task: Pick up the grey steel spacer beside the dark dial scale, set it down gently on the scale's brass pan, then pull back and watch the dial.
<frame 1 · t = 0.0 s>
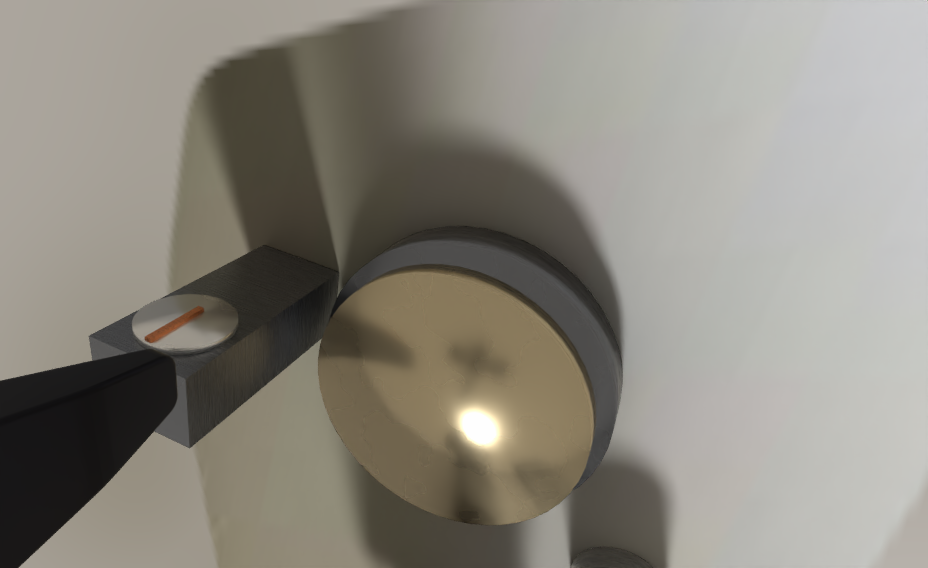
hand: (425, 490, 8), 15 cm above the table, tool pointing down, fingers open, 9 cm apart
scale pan: (448, 402, 23), point 3 cm above the table, slide at -0.3 cm
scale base: (475, 363, 26), on the table
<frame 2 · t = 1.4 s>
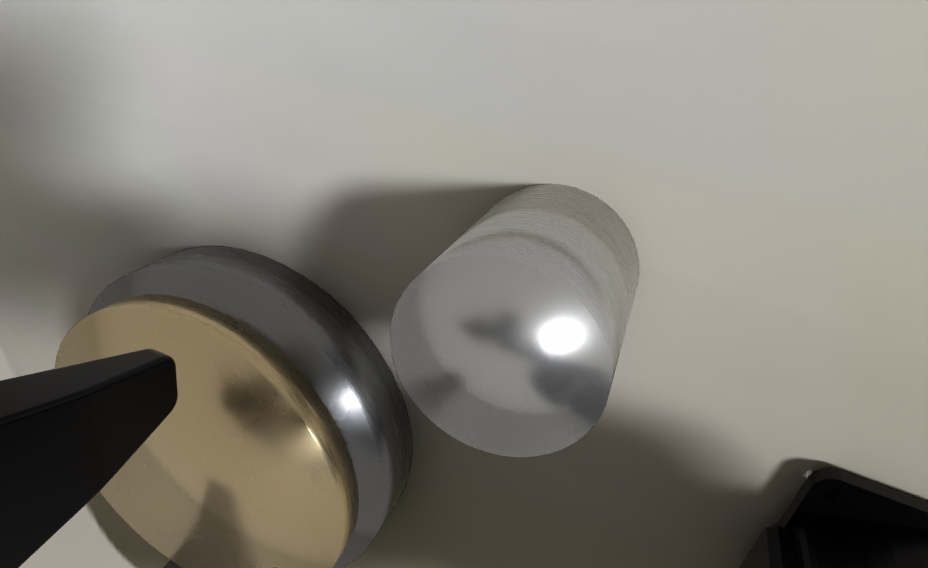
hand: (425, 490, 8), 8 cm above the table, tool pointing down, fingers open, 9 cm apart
steel spacer: (552, 265, 15), on the table
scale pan: (200, 456, 19), point 3 cm above the table, slide at -0.3 cm
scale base: (260, 403, 22), on the table
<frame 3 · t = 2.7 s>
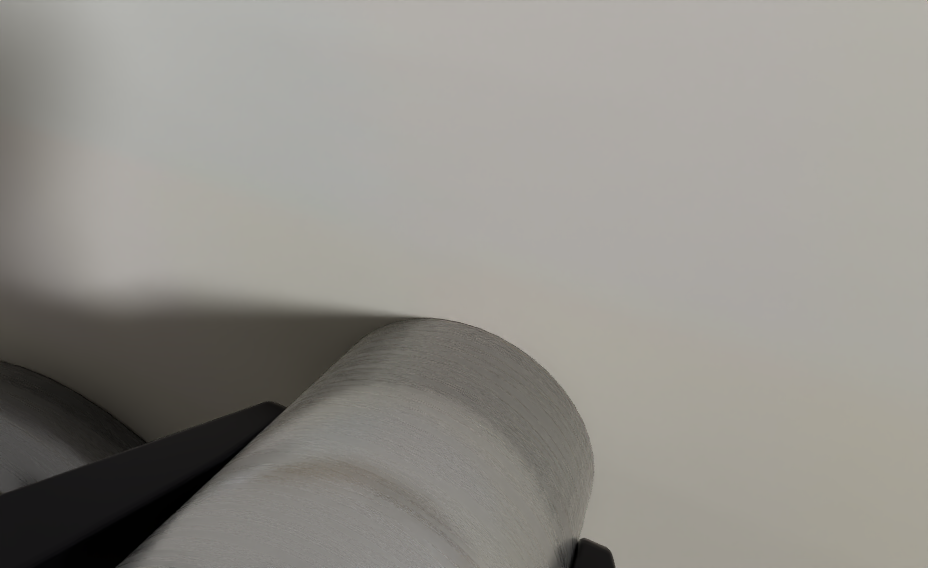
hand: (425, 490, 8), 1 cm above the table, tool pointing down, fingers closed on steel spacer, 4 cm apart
steel spacer: (453, 444, 9), on the table, touching gripper
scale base: (87, 562, 16), on the table
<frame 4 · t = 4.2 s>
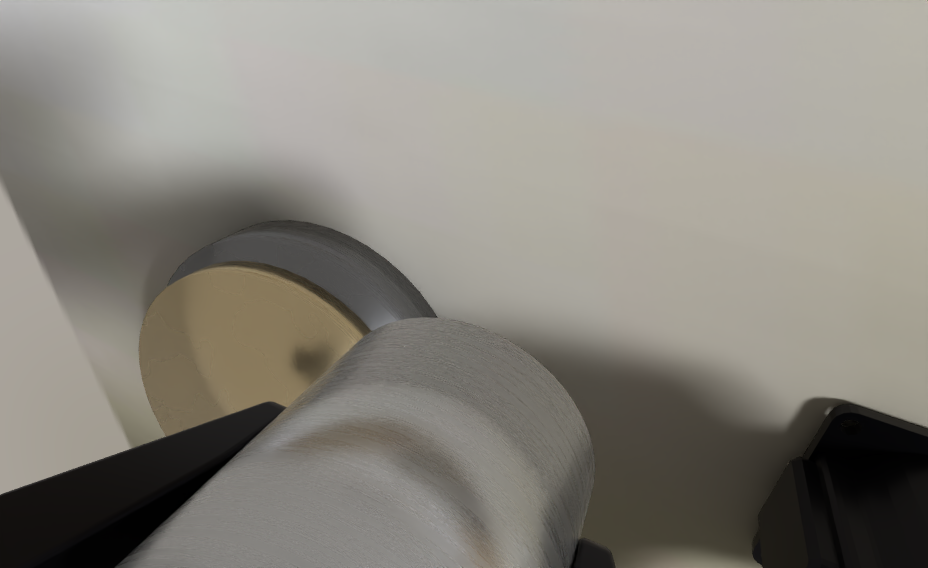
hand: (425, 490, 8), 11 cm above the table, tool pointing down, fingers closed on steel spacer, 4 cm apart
steel spacer: (453, 443, 9), point 10 cm above the table, touching gripper
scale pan: (272, 410, 21), point 3 cm above the table, slide at -0.3 cm
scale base: (319, 367, 24), on the table
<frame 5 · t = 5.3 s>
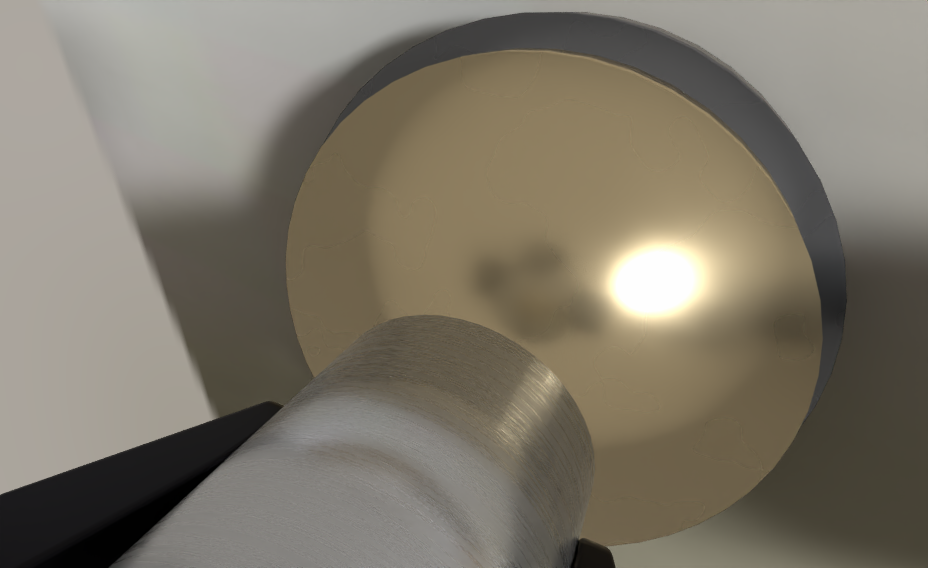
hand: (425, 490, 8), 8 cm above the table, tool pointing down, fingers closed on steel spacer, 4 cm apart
steel spacer: (453, 441, 9), point 7 cm above the table, touching gripper
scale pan: (518, 327, 13), point 3 cm above the table, slide at -0.3 cm
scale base: (551, 274, 15), on the table
when the fingers open (6 cm above the table, at t = 6.1 s): steel spacer drops 1 cm, resting on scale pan.
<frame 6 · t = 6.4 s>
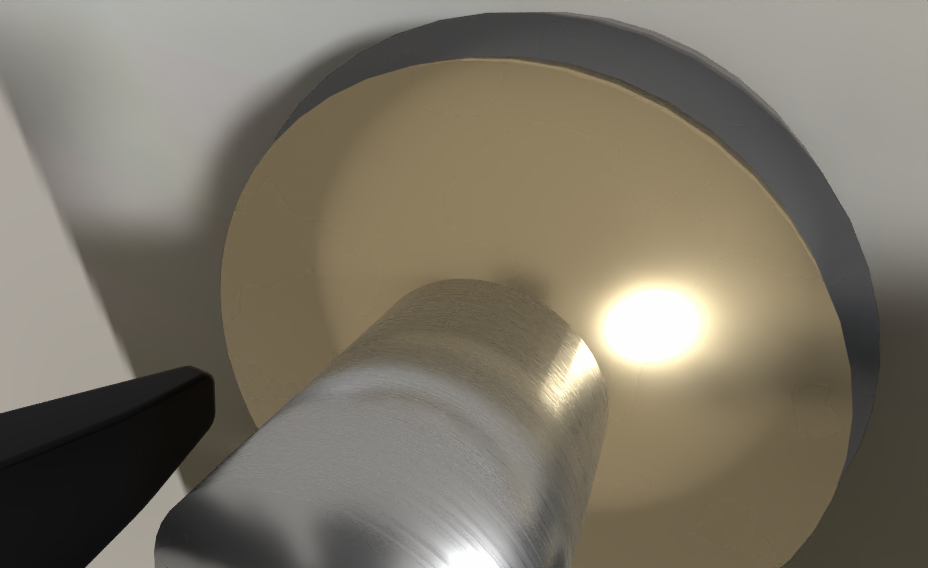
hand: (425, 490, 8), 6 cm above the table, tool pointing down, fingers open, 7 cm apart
steel spacer: (481, 393, 10), point 3 cm above the table, touching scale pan
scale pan: (488, 382, 11), point 3 cm above the table, slide at -0.4 cm, touching steel spacer
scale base: (529, 313, 13), on the table
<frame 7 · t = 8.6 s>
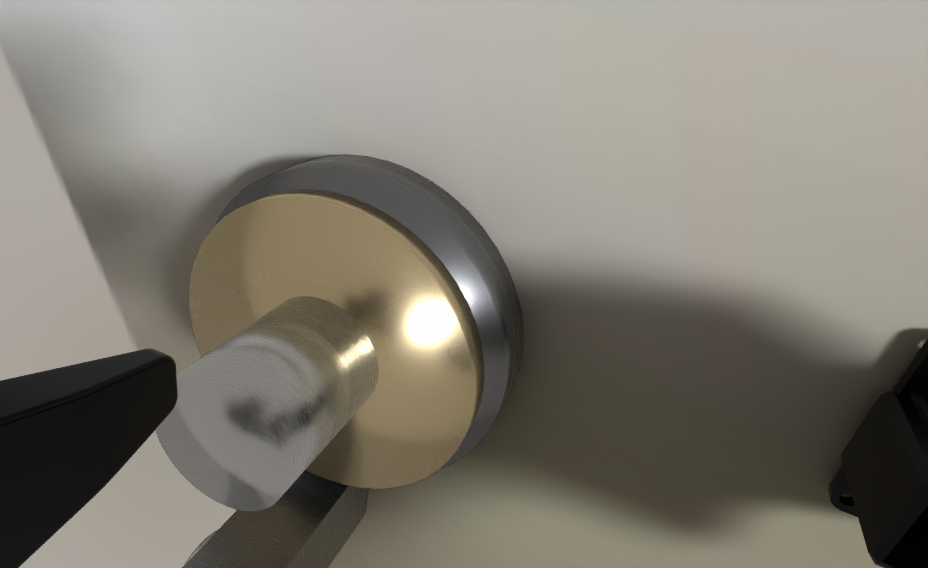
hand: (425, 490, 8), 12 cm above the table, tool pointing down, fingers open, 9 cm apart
steel spacer: (321, 354, 20), point 3 cm above the table, touching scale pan
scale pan: (328, 349, 21), point 3 cm above the table, slide at -0.4 cm, touching steel spacer
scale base: (370, 313, 23), on the table
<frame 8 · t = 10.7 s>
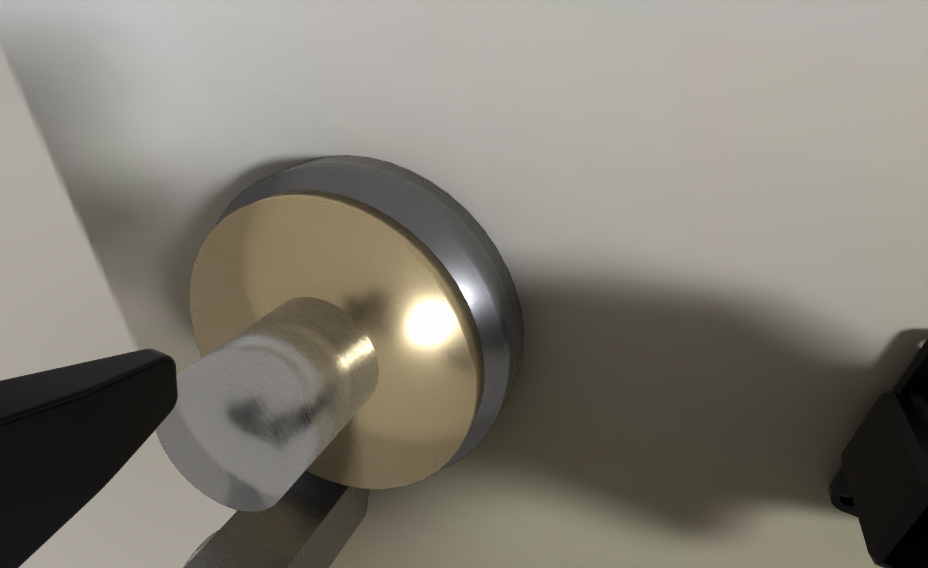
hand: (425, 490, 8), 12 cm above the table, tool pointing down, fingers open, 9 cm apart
steel spacer: (321, 355, 20), point 3 cm above the table, touching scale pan
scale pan: (328, 350, 21), point 3 cm above the table, slide at -0.4 cm, touching steel spacer
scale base: (370, 314, 23), on the table
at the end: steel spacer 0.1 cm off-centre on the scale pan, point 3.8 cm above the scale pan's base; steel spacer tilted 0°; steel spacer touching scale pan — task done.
